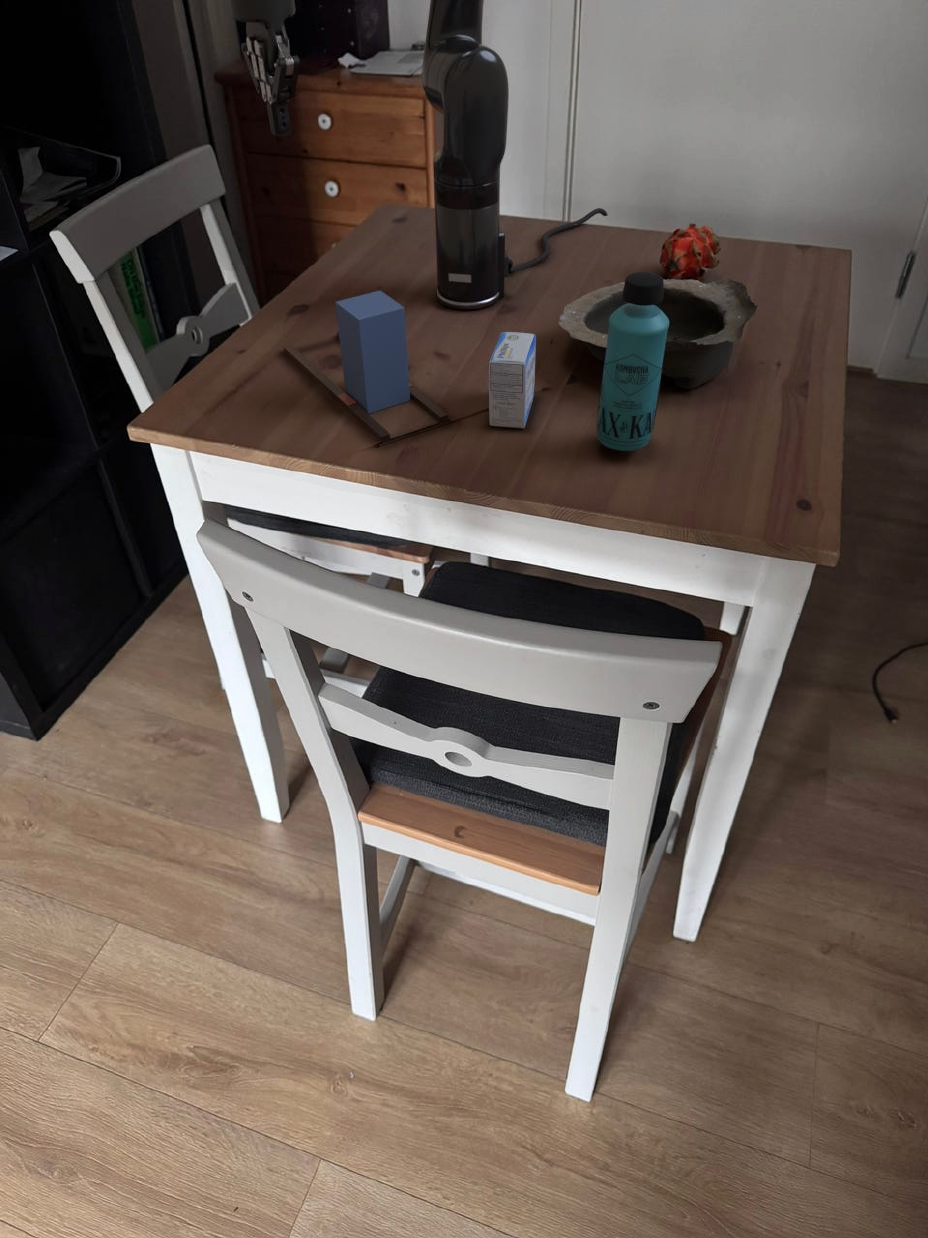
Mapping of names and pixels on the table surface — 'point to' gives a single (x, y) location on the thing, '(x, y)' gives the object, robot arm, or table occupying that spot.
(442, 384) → the table surface
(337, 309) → the block
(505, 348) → the medicine box
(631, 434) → the beverage bottle
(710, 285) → the stone bowl
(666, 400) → the table surface
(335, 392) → the track
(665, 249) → the dragon fruit
